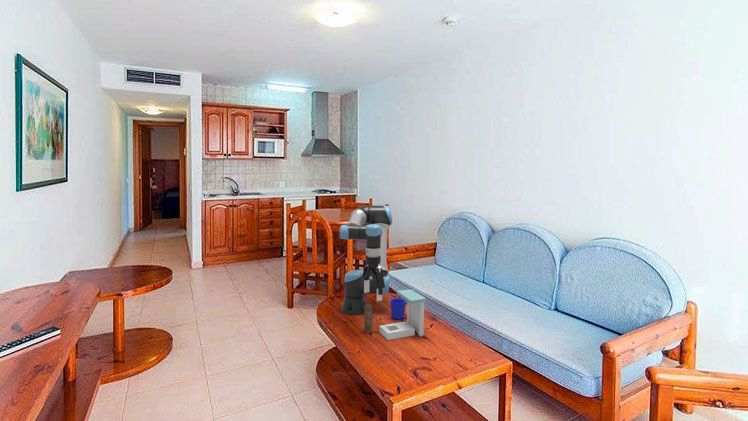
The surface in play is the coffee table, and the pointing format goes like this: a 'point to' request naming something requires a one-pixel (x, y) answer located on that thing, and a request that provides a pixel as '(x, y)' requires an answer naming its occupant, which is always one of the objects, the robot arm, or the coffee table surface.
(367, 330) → the peg
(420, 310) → the station
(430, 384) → the coffee table surface
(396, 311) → the mug
